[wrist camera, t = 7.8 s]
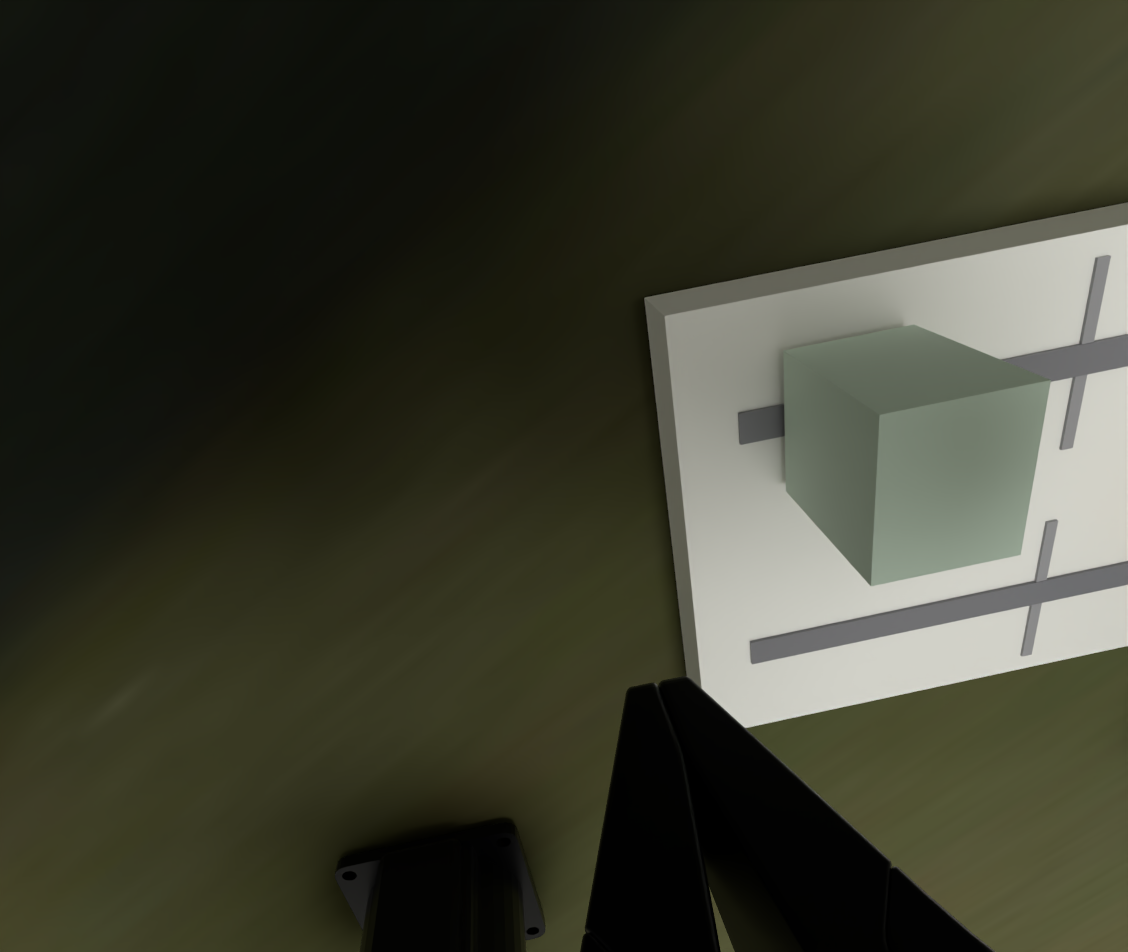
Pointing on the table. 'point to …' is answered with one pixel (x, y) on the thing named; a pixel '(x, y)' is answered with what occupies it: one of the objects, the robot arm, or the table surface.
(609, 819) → the robot arm
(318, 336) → the table surface
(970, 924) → the table surface
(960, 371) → the sage fader
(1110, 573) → the mixer console
